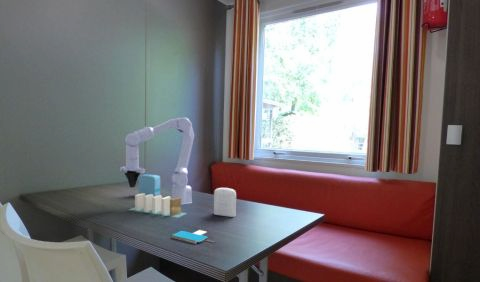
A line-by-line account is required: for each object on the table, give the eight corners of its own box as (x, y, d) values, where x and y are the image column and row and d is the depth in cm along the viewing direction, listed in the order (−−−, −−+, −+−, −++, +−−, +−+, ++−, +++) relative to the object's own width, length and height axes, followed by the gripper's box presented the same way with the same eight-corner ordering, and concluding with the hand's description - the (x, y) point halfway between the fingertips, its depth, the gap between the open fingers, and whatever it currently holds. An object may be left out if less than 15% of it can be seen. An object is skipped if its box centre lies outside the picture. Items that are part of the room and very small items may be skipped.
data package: (160, 196, 166) (160, 175, 166) (154, 198, 162) (154, 176, 162) (144, 194, 172) (144, 173, 171) (138, 195, 168) (138, 174, 167)
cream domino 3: (152, 212, 134) (152, 197, 134) (159, 209, 138) (159, 195, 138) (155, 213, 133) (154, 197, 133) (162, 210, 138) (162, 195, 138)
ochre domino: (169, 215, 130) (169, 199, 130) (178, 212, 134) (178, 197, 134) (172, 215, 129) (172, 200, 129) (180, 213, 133) (180, 197, 133)
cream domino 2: (143, 211, 136) (143, 196, 136) (150, 208, 140) (150, 194, 140) (146, 211, 135) (146, 196, 135) (153, 209, 140) (153, 194, 140)
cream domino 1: (135, 210, 138) (134, 195, 138) (142, 207, 142) (142, 193, 142) (137, 210, 137) (137, 195, 137) (145, 207, 142) (145, 193, 142)
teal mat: (128, 210, 138) (128, 209, 138) (138, 206, 145) (138, 206, 145) (178, 218, 127) (178, 217, 127) (187, 214, 134) (187, 213, 134)
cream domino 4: (161, 214, 132) (161, 198, 132) (168, 211, 137) (168, 196, 136) (164, 214, 131) (164, 199, 131) (170, 211, 136) (170, 196, 136)
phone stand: (225, 237, 107) (225, 233, 107) (206, 249, 97) (206, 244, 97) (182, 228, 117) (182, 224, 117) (160, 237, 107) (160, 233, 107)
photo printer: (237, 215, 133) (237, 187, 133) (234, 217, 129) (234, 189, 129) (215, 212, 136) (216, 186, 136) (212, 215, 132) (212, 188, 132)
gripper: (114, 158, 140) (115, 186, 141) (137, 160, 134) (137, 190, 134) (126, 157, 147) (126, 184, 147) (148, 159, 140) (148, 187, 140)
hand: (132, 187), depth 141 cm, fingers closed
